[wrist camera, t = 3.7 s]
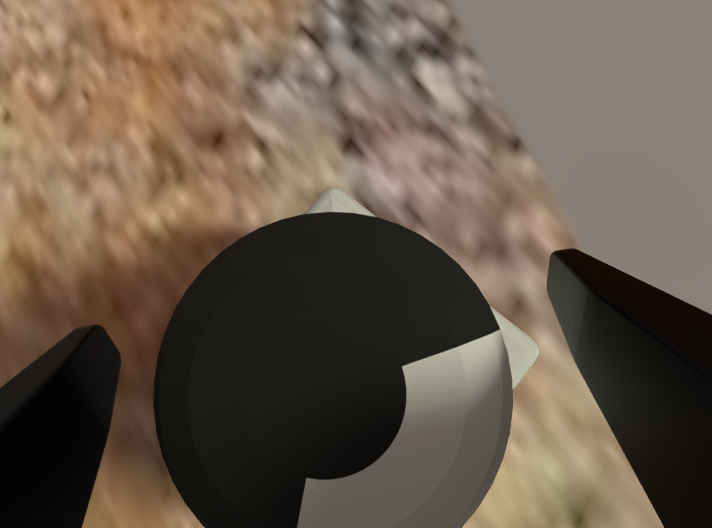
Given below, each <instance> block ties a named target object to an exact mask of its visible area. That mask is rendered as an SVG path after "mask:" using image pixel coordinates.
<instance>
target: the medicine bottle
mask: <svg viewBox="0 0 712 528" xmlns="http://www.w3.org/2000/svg"><path fill="white" fill-rule="evenodd" d="M538 354H539V351H538V346H537V345H536V343H535V342H534V341H533V339H531V338H530V337H529V336H528V335H526V334H525V333H524V332H522V331H521V330H520V329H519V328H517V327H516V326H515V325H513V324H512V323H511V322H510V321H508V320H507V319H506V318H505V317H503V316H502V315H501V314H499V313H498V312H497V311H496V310H494V309H493V308H492V307H490V305H489V304H488V302H487V301H486V299H485V298H484V296H483V294H482V293H481V291H480V290H479V288H478V287H477V285H476V284H475V283H474V281H473V280H472V279H471V278H470V277H469V276H468V274H467V273H466V272H465V271H464V270H463V269H462V267H461V266H460V265H459V264H458V263H457V262H455V261H454V260H453V259H452V258H451V257H450V256H449V255H448V254H446V253H445V252H444V251H443V250H442V249H441V248H439V247H438V246H436V245H435V244H433V243H432V242H430V241H429V240H427V239H426V238H424V237H423V236H421V235H419V234H417V233H415V232H413V231H411V230H409V229H407V228H405V227H403V226H401V225H399V224H396V223H393V222H390V221H387V220H384V219H381V218H378V217H375V216H374V215H373V214H372V213H370V212H369V211H368V210H367V209H365V208H364V207H363V206H361V205H360V204H359V203H358V202H356V201H355V200H354V199H352V198H351V197H350V196H349V195H347V194H346V193H345V192H344V191H342V190H340V189H338V188H335V187H332V188H328V189H326V190H325V191H323V193H322V194H321V195H320V196H319V197H318V198H317V200H316V201H315V202H314V203H313V204H312V206H311V207H310V208H309V209H308V210H307V212H306V213H305V214H303V215H299V216H295V217H290V218H286V219H282V220H279V221H277V222H274V223H271V224H269V225H266V226H264V227H261V228H259V229H257V230H255V231H253V232H252V233H250V234H248V235H246V236H244V237H242V238H241V239H239V240H237V241H236V242H235V243H233V244H232V245H231V246H229V247H228V248H227V249H225V250H224V251H222V252H221V253H220V254H219V255H218V256H217V257H216V258H215V259H214V260H212V261H211V262H210V263H209V264H208V265H207V266H206V267H205V268H204V269H203V270H202V271H201V273H200V274H199V275H198V276H197V278H196V279H195V280H194V281H193V283H192V284H191V285H190V286H189V288H188V289H187V290H186V292H185V294H184V295H183V297H182V299H181V300H180V302H179V304H178V305H177V307H176V309H175V310H174V313H173V315H172V317H171V320H170V322H169V324H168V327H167V329H166V331H165V334H164V337H163V341H162V344H161V348H160V351H159V355H158V359H157V366H156V373H155V379H154V414H155V422H156V431H157V436H158V440H159V444H160V447H161V451H162V455H163V459H164V461H165V463H166V466H167V468H168V471H169V473H170V476H171V478H172V481H173V483H174V484H175V486H176V488H177V490H178V491H179V493H180V495H181V496H182V498H183V500H184V502H185V503H186V505H187V506H188V507H189V509H190V510H191V511H192V512H193V514H194V515H195V516H196V518H197V519H198V520H199V521H200V523H201V524H202V525H203V526H204V527H205V528H462V527H463V525H464V524H465V523H466V522H467V520H468V519H469V518H470V517H471V516H472V514H473V513H474V512H475V511H476V509H477V508H478V507H479V505H480V504H481V502H482V500H483V499H484V497H485V495H486V494H487V492H488V490H489V489H490V487H491V485H492V484H493V481H494V479H495V477H496V474H497V472H498V470H499V467H500V465H501V462H502V460H503V457H504V453H505V449H506V446H507V442H508V438H509V434H510V427H511V418H512V410H513V389H514V388H515V386H516V385H517V384H518V383H519V381H520V380H521V379H522V377H523V376H524V375H525V374H526V372H527V371H528V370H529V368H530V367H531V366H532V364H533V363H534V362H535V361H536V359H537V357H538Z"/></svg>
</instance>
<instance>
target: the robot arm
mask: <svg viewBox="0 0 712 528" xmlns="http://www.w3.org/2000/svg"><path fill="white" fill-rule="evenodd" d="M547 292H548V296H549V298H550V301H551V303H552V306H553V308H554V311H555V313H556V316H557V319H558V321H559V324H560V326H561V329H562V331H563V334H564V336H565V339H566V341H567V344H568V346H569V349H570V351H571V354H572V356H573V358H574V361H575V363H576V365H577V367H578V369H579V371H580V373H581V375H582V376H583V378H584V380H585V382H586V384H587V386H588V387H589V389H590V391H591V393H592V395H593V397H594V398H595V400H596V402H597V404H598V406H599V408H600V410H601V411H602V413H603V415H604V417H605V419H606V421H607V422H608V424H609V426H610V428H611V430H612V432H613V434H614V435H615V437H616V439H617V441H618V443H619V445H620V446H621V448H622V450H623V452H624V454H625V456H626V458H627V459H628V461H629V463H630V465H631V467H632V469H633V470H634V472H635V474H636V476H637V478H638V480H639V482H640V483H641V485H642V487H643V489H644V491H645V493H646V494H647V496H648V498H649V500H650V502H651V504H652V506H653V507H654V509H655V511H656V513H657V515H658V517H659V518H660V520H661V522H662V524H663V526H664V528H712V315H711V314H709V313H707V312H705V311H703V310H701V309H699V308H697V307H695V306H693V305H691V304H689V303H687V302H684V301H682V300H680V299H678V298H676V297H674V296H672V295H670V294H668V293H666V292H664V291H662V290H659V289H658V288H656V287H653V286H651V285H649V284H647V283H645V282H643V281H641V280H638V279H637V278H635V277H633V276H631V275H628V274H626V273H624V272H622V271H620V270H618V269H616V268H614V267H612V266H610V265H608V264H606V263H604V262H602V261H600V260H597V259H596V258H594V257H591V256H589V255H587V254H585V253H583V252H581V251H579V250H577V249H574V248H570V249H564V250H558V251H554V252H553V253H552V254H551V256H550V261H549V269H548V278H547ZM120 366H121V356H120V353H119V351H118V349H117V348H116V346H115V344H114V343H113V341H112V340H111V338H110V337H109V335H108V334H107V332H106V331H105V329H104V328H103V327H102V326H100V325H89V326H83V327H79V328H76V329H75V330H74V331H72V332H71V333H70V334H68V335H67V336H66V337H65V338H63V339H62V340H61V341H60V342H58V343H57V344H56V345H54V346H53V347H52V348H51V349H49V350H48V351H47V352H45V353H44V354H43V355H42V356H40V357H39V358H38V359H37V360H35V361H34V362H33V363H31V364H30V365H29V366H28V367H26V368H25V369H24V370H22V371H21V372H20V373H19V374H17V375H16V376H15V377H14V378H12V379H11V380H10V381H8V382H7V383H6V384H5V385H3V386H2V387H1V388H0V528H82V525H83V522H84V518H85V515H86V511H87V508H88V504H89V501H90V497H91V494H92V490H93V487H94V483H95V480H96V476H97V473H98V469H99V466H100V462H101V459H102V455H103V452H104V448H105V445H106V441H107V437H108V433H109V429H110V424H111V419H112V413H113V407H114V401H115V395H116V389H117V384H118V378H119V372H120Z"/></svg>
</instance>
